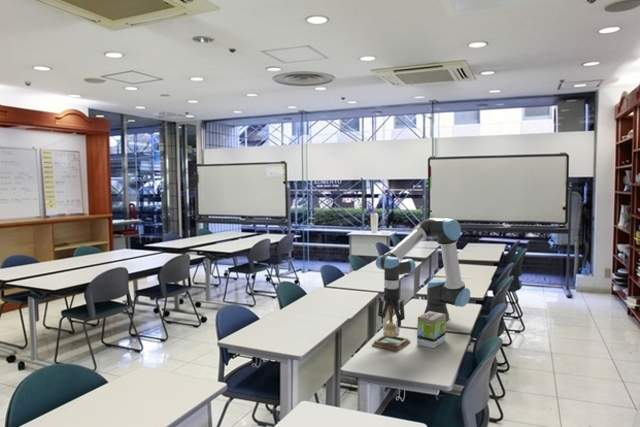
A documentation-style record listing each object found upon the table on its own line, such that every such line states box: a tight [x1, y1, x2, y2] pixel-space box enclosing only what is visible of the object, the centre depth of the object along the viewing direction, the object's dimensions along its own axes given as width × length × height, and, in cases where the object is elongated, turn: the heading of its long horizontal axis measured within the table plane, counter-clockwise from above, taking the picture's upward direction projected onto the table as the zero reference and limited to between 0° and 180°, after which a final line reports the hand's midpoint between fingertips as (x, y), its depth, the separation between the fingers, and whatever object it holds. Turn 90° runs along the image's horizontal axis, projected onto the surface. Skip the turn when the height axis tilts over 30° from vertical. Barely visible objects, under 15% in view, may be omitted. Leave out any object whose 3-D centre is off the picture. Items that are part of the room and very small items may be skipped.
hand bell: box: [382, 305, 400, 337], centre depth 231 cm, size 8×8×16 cm
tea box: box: [416, 311, 447, 349], centre depth 233 cm, size 15×10×15 cm
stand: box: [371, 335, 411, 353], centre depth 231 cm, size 16×14×2 cm
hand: (391, 331), depth 231 cm, fingers closed on hand bell, 7 cm apart
